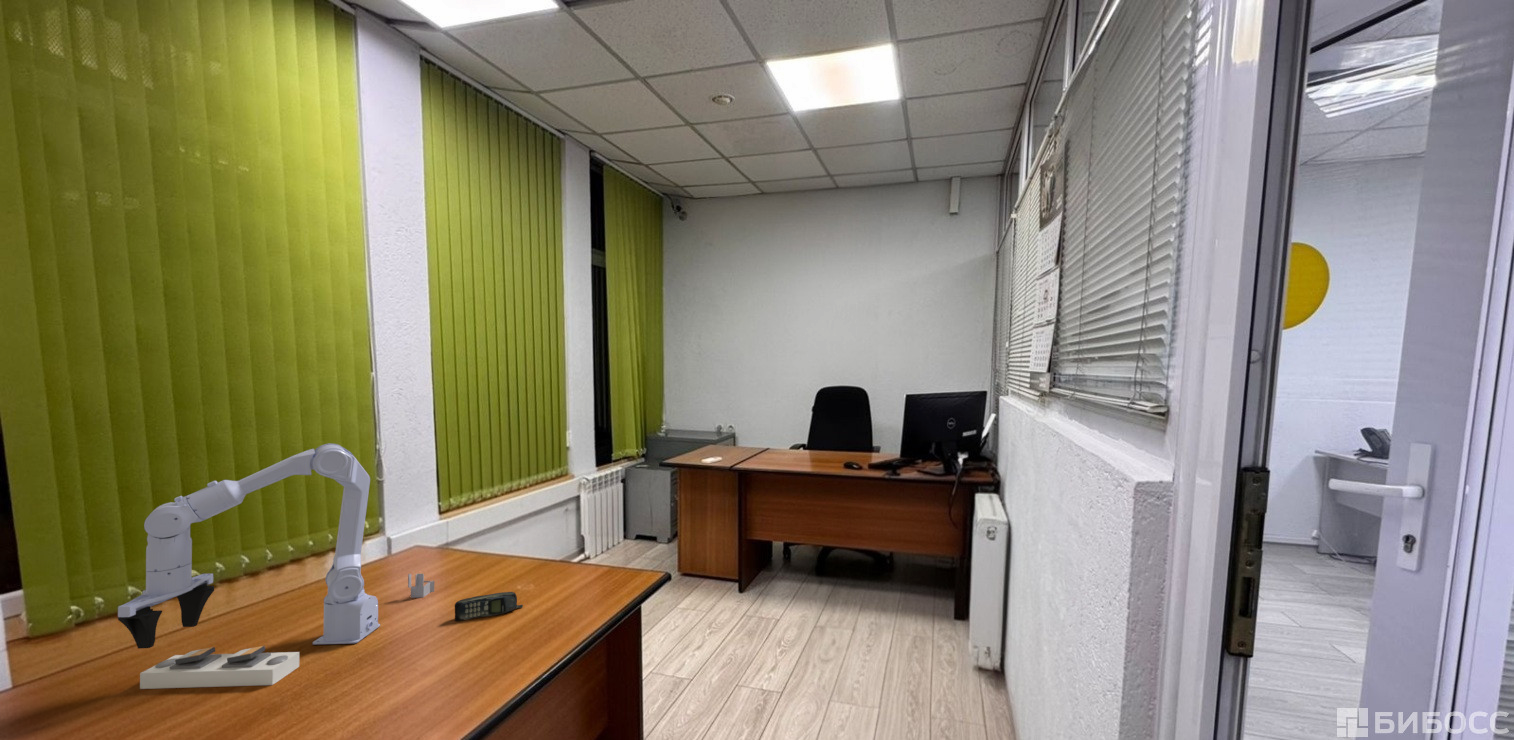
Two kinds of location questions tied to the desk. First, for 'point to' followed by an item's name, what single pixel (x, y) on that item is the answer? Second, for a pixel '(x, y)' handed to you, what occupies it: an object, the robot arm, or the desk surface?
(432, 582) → the architectural model
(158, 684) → the rocker switch panel
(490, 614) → the mobile phone
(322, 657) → the desk surface
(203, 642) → the desk surface
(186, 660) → the rocker
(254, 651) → the rocker
